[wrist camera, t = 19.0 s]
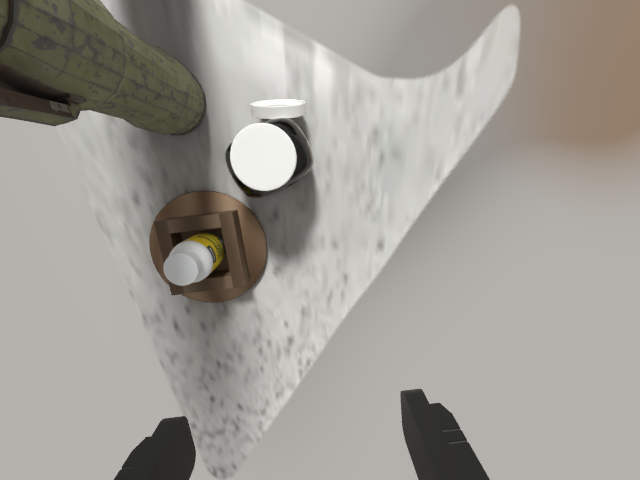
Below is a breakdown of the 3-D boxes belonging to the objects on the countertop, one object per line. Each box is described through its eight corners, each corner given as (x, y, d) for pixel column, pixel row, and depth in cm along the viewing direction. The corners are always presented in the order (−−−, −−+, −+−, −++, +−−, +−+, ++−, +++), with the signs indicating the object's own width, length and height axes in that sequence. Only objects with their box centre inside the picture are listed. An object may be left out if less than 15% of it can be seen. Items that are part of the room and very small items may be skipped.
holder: (256, 184, 42) (251, 185, 38) (274, 293, 46) (271, 304, 43) (139, 198, 42) (122, 201, 38) (167, 306, 46) (155, 318, 43)
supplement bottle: (235, 250, 44) (213, 272, 34) (209, 272, 44) (181, 301, 35) (209, 222, 42) (179, 238, 33) (182, 246, 43) (146, 268, 34)
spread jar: (258, 201, 43) (239, 212, 32) (217, 127, 40) (181, 111, 29) (332, 162, 42) (340, 160, 31) (295, 85, 39) (288, 51, 28)
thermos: (164, 156, 41) (-557, 96, 7) (122, 67, 38) (-1395, -740, 4) (222, 133, 40) (-245, -51, 6) (184, 42, 38) (-971, -1105, 4)
